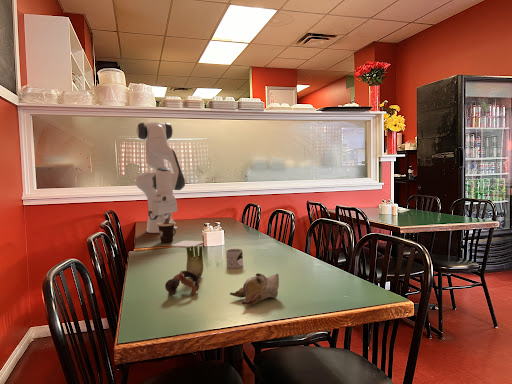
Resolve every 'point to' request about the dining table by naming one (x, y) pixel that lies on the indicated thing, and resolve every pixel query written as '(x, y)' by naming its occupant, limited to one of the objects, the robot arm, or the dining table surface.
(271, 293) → the ceramic sculpture
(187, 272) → the brown black curved piece
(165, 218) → the wooden lid
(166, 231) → the coffee mug
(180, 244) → the grey mat
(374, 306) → the dining table surface
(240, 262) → the mug
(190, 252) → the fennel bulb
